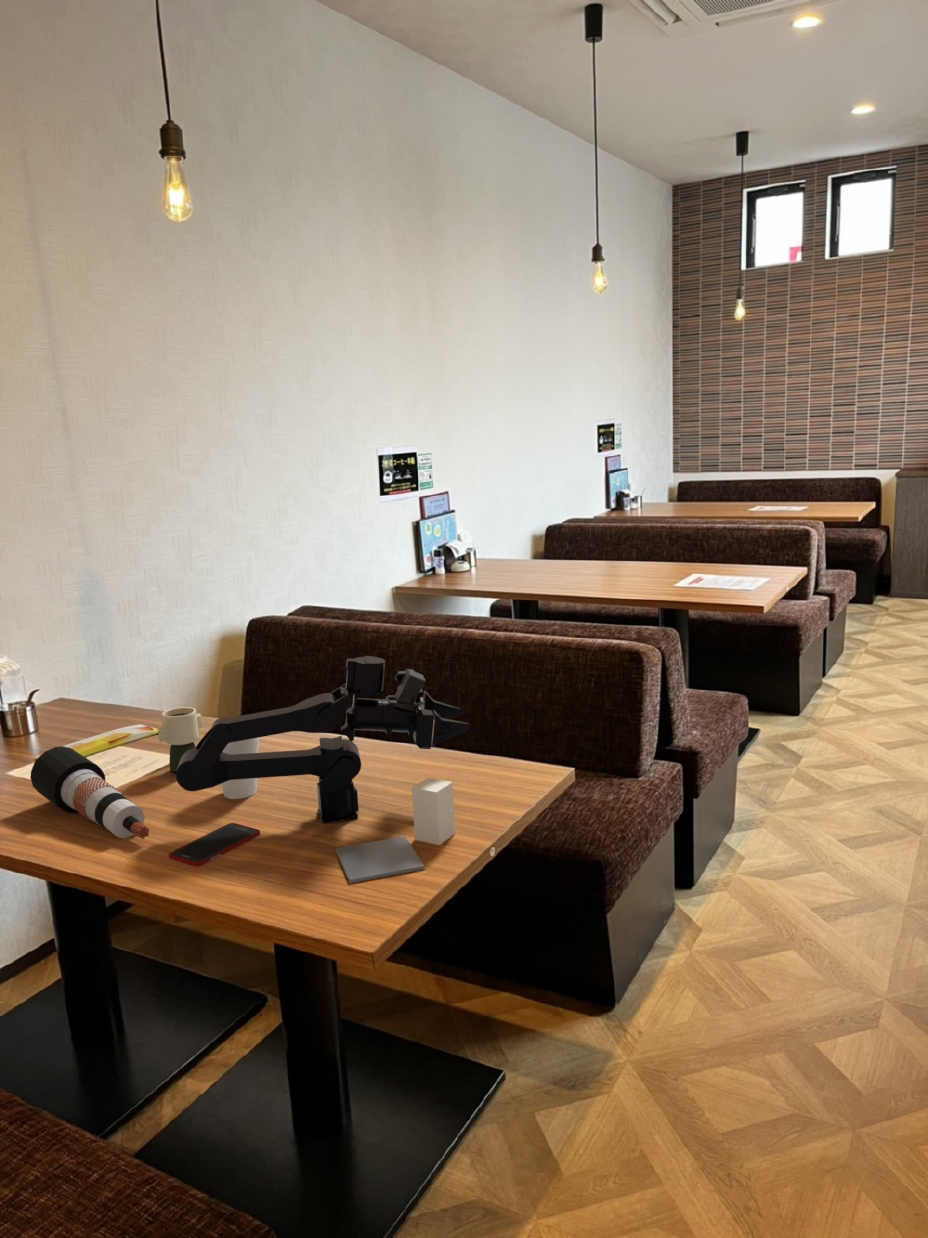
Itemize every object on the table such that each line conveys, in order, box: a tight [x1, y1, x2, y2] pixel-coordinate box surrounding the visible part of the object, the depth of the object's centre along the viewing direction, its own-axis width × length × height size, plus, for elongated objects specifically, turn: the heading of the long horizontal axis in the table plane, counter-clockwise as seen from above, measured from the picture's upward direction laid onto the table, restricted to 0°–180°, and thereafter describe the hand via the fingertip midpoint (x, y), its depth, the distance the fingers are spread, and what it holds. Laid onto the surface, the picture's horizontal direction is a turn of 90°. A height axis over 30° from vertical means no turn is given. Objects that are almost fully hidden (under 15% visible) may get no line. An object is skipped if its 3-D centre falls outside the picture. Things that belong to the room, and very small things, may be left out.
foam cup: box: [220, 737, 261, 800], centre depth 183 cm, size 10×9×13 cm
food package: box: [35, 724, 158, 759], centre depth 217 cm, size 27×2×10 cm
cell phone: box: [168, 822, 261, 867], centre depth 161 cm, size 8×15×1 cm, turn 146°
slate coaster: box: [335, 835, 425, 884], centre depth 152 cm, size 12×12×1 cm
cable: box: [30, 745, 150, 840], centre depth 173 cm, size 10×34×10 cm, turn 44°
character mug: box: [157, 706, 203, 773], centre depth 197 cm, size 11×7×13 cm, turn 144°
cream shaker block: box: [411, 777, 456, 846], centre depth 159 cm, size 5×5×10 cm
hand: (465, 718), depth 172 cm, fingers open, 9 cm apart
